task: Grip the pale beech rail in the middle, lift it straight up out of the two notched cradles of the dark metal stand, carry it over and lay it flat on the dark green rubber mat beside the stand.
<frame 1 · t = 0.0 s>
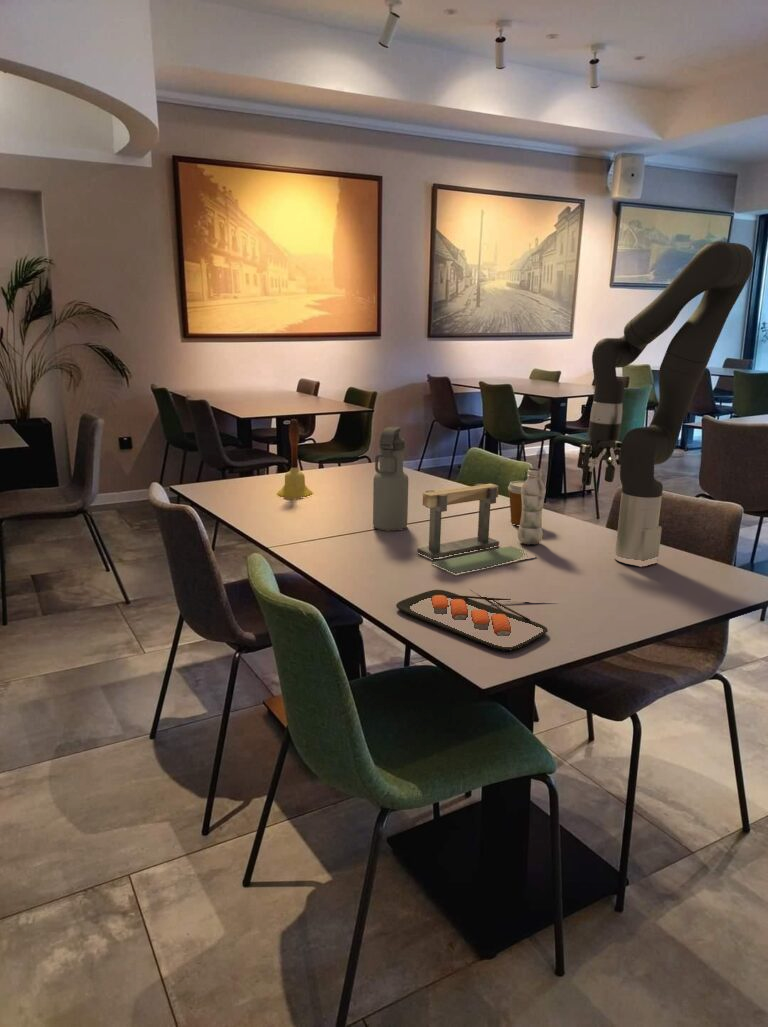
hand: (597, 483, 184), 17 cm above the table, tool pointing down, fingers open, 8 cm apart
rail stand: (458, 550, 184), on the table
rubber mat: (485, 561, 176), on the table
handbell: (294, 494, 240), on the table
sushi plate: (492, 615, 145), on the table
beech rail: (461, 501, 180), point 13 cm above the table, touching rail stand
plastic bottle: (529, 544, 191), on the table
water bottle: (389, 527, 204), on the table
disposable coffee cup: (522, 524, 209), on the table
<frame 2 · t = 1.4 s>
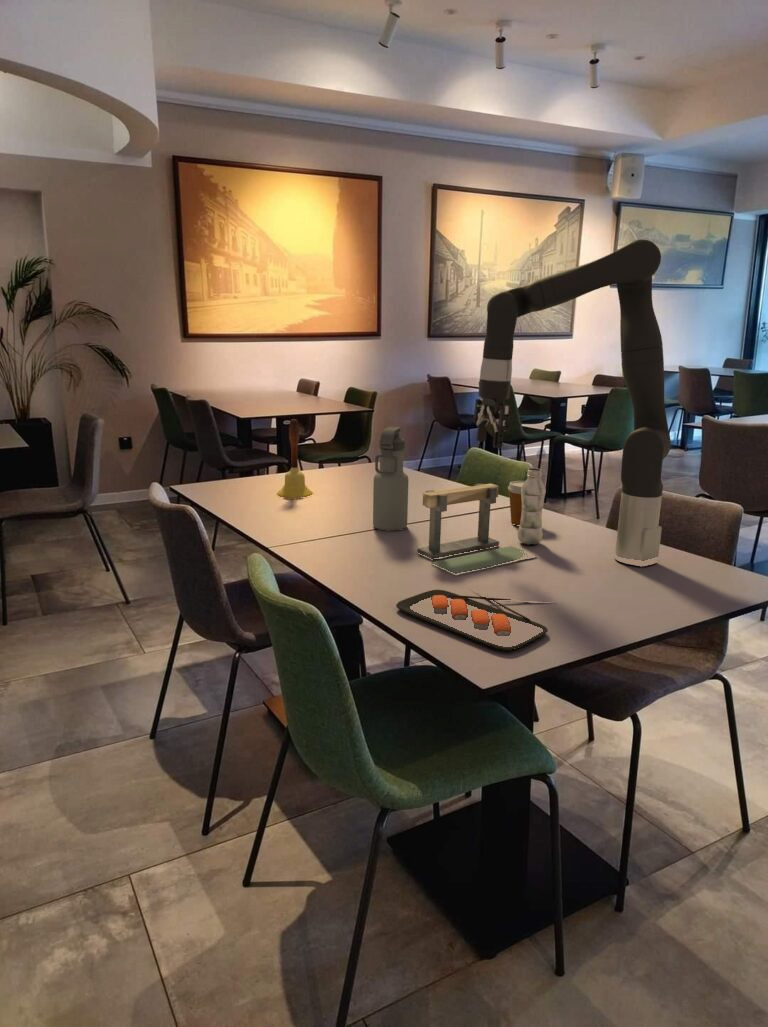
hand: (489, 444, 178), 27 cm above the table, tool pointing down, fingers open, 8 cm apart
nothing on the table moved.
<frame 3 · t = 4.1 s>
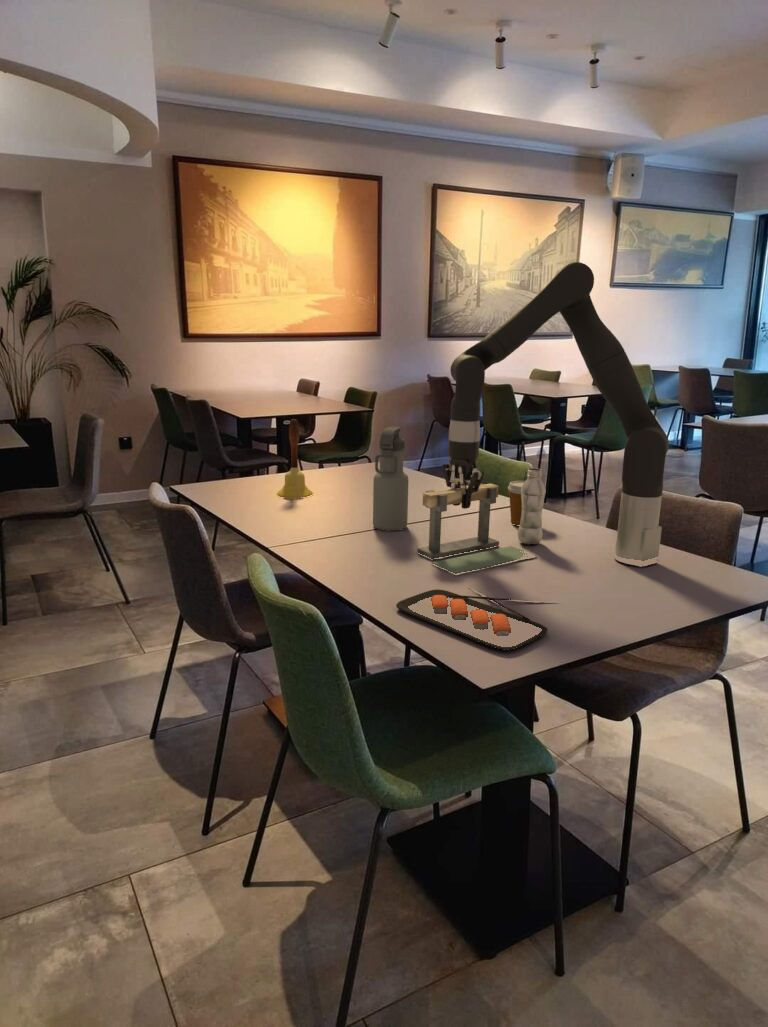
hand: (460, 506, 181), 12 cm above the table, tool pointing down, fingers closed on beech rail, 3 cm apart
beech rail: (461, 501, 180), point 13 cm above the table, touching gripper, rail stand
everything else where it was.
when the fingers open (2 cm above the table, at t = 10.9 s): beech rail drops 2 cm, resting on rubber mat.
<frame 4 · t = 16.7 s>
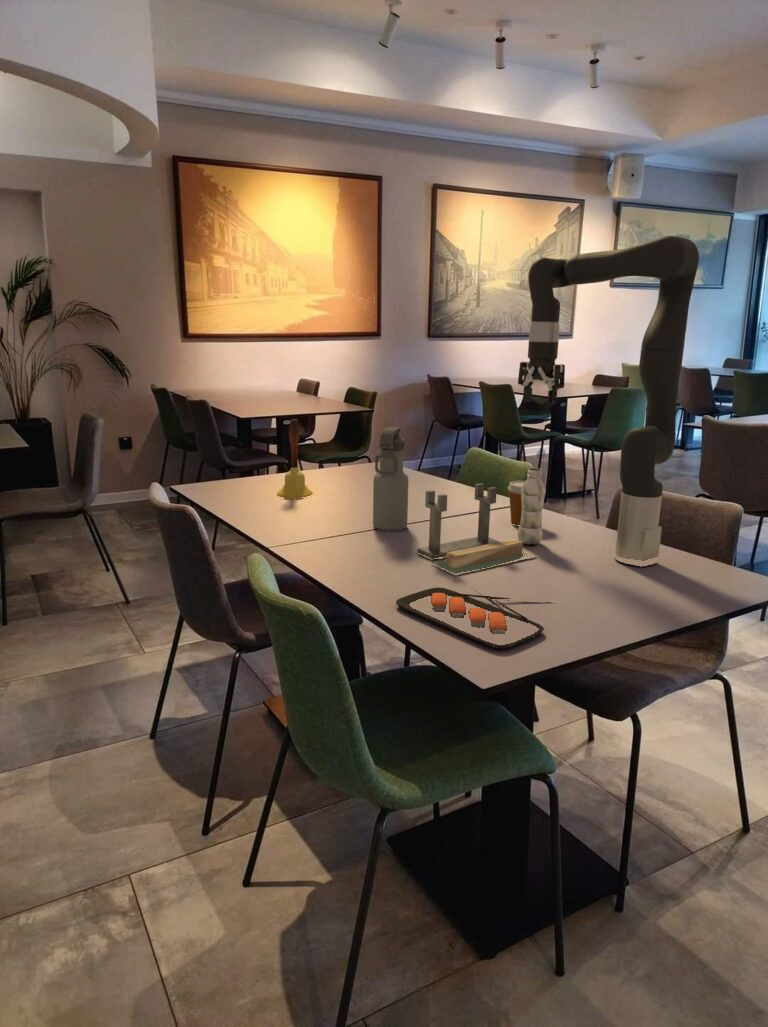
hand: (539, 403, 189), 36 cm above the table, tool pointing down, fingers open, 8 cm apart
beech rail: (485, 558, 176), point 1 cm above the table, touching rubber mat
at the end: beech rail inside the target area (0.0 cm from its centre), point 0.6 cm above the table; beech rail touching rubber mat; beech rail tilted 0° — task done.
